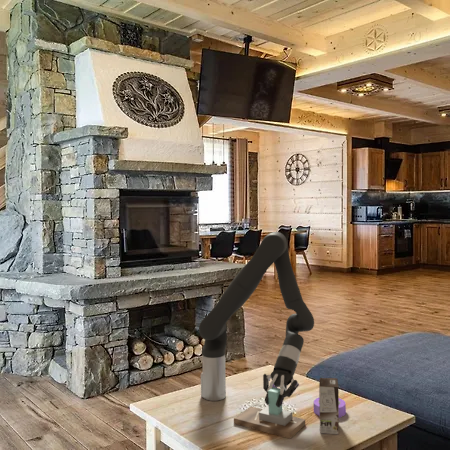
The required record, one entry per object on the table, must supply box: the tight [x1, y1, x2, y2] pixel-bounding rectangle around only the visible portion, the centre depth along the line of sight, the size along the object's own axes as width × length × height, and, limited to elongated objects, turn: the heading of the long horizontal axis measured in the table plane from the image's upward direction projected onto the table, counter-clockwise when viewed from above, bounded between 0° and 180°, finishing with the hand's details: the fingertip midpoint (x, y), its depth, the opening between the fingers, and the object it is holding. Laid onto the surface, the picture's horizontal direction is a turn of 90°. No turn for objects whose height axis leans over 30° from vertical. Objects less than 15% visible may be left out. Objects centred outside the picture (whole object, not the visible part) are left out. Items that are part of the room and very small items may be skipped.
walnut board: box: [233, 406, 306, 440], centre depth 176 cm, size 22×12×2 cm, turn 57°
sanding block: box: [259, 387, 294, 426], centre depth 174 cm, size 10×6×10 cm, turn 57°
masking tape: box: [313, 397, 347, 419], centre depth 185 cm, size 12×12×4 cm
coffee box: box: [318, 377, 340, 435], centre depth 171 cm, size 9×6×16 cm
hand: (272, 404), depth 172 cm, fingers closed on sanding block, 3 cm apart
